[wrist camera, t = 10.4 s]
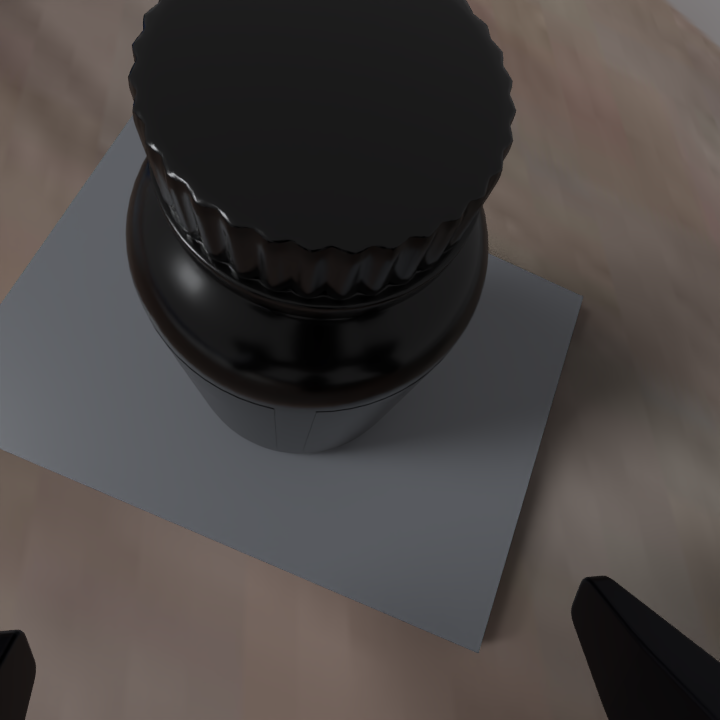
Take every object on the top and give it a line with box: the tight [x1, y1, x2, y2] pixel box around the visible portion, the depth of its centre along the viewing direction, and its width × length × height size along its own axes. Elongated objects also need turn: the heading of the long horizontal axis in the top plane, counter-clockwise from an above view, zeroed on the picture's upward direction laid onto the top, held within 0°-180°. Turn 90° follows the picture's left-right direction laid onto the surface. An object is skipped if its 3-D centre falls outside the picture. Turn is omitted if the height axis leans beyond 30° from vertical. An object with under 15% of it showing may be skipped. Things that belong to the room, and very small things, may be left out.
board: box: [0, 115, 583, 653], centre depth 18 cm, size 18×13×1 cm
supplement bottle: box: [125, 0, 516, 454], centre depth 12 cm, size 7×7×12 cm
